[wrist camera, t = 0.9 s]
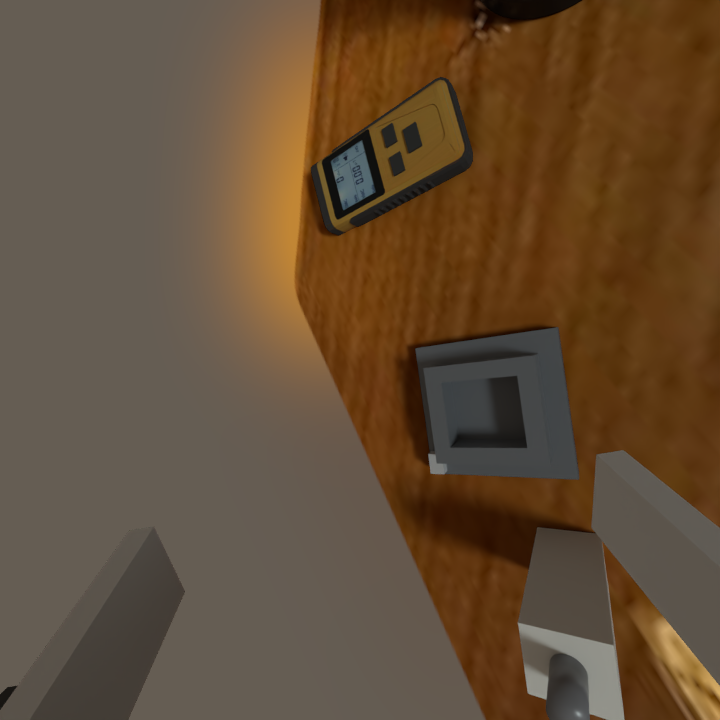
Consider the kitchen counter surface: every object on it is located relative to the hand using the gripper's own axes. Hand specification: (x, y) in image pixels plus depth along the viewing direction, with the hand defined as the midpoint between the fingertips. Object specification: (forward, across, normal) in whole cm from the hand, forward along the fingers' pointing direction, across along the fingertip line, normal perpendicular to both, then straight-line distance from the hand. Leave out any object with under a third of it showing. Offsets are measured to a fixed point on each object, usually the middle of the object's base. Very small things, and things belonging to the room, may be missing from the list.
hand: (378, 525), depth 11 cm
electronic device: (+36, +7, +13) cm, 39 cm away
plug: (+16, +16, -22) cm, 31 cm away
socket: (+23, +12, -10) cm, 27 cm away
